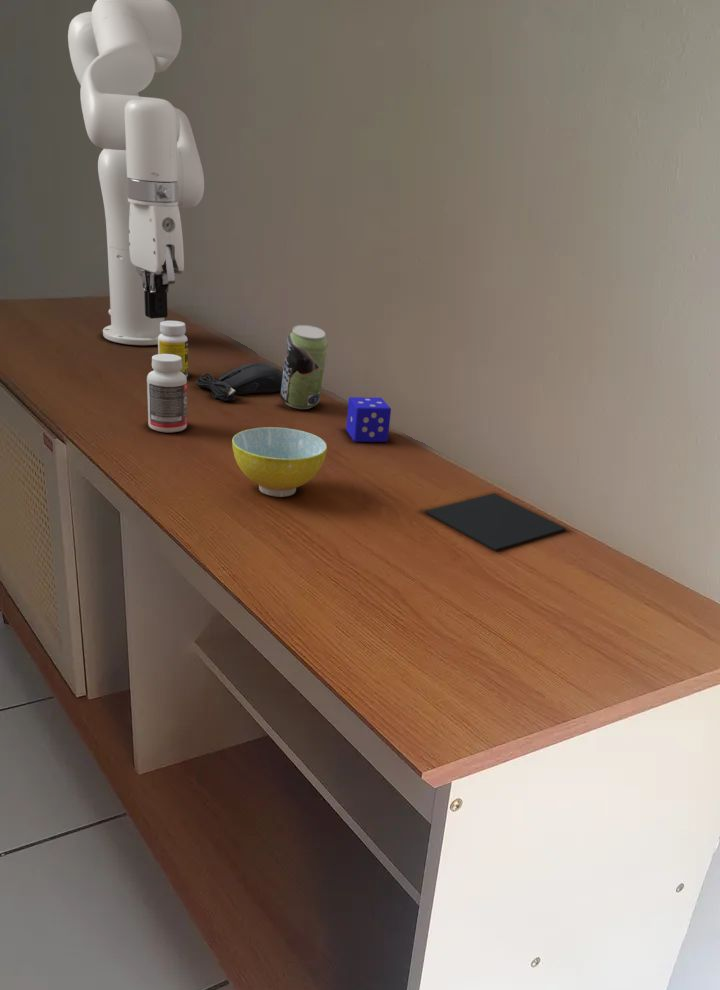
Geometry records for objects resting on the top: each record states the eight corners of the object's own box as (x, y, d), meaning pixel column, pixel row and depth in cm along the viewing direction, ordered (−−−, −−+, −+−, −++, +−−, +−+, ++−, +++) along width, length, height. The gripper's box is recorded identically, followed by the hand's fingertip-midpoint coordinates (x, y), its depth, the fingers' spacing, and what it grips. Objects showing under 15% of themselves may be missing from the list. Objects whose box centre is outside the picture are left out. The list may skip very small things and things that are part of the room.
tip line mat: (425, 512, 114) (425, 510, 113) (494, 495, 120) (494, 493, 120) (495, 551, 106) (496, 549, 106) (565, 530, 113) (565, 528, 112)
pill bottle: (193, 431, 131) (193, 361, 126) (157, 435, 129) (155, 363, 124) (177, 419, 135) (176, 350, 130) (142, 423, 132) (139, 353, 127)
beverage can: (301, 397, 149) (305, 319, 143) (332, 410, 145) (338, 330, 139) (270, 403, 145) (273, 323, 139) (302, 416, 141) (306, 335, 135)
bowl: (304, 469, 122) (307, 423, 119) (337, 504, 113) (341, 455, 110) (220, 476, 118) (220, 428, 115) (247, 512, 109) (248, 461, 106)
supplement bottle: (191, 379, 152) (190, 326, 148) (161, 380, 151) (160, 326, 146) (184, 371, 156) (184, 319, 152) (156, 372, 154) (154, 319, 150)
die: (346, 430, 137) (348, 396, 135) (378, 430, 139) (382, 397, 136) (354, 442, 133) (357, 407, 131) (387, 442, 134) (391, 408, 132)
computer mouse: (302, 394, 151) (304, 370, 149) (222, 404, 143) (223, 379, 141) (269, 377, 158) (270, 354, 156) (191, 385, 150) (191, 361, 148)
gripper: (199, 199, 141) (199, 325, 150) (151, 187, 150) (155, 306, 159) (154, 198, 136) (157, 328, 145) (108, 186, 146) (114, 309, 155)
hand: (156, 316), depth 152 cm, fingers closed
